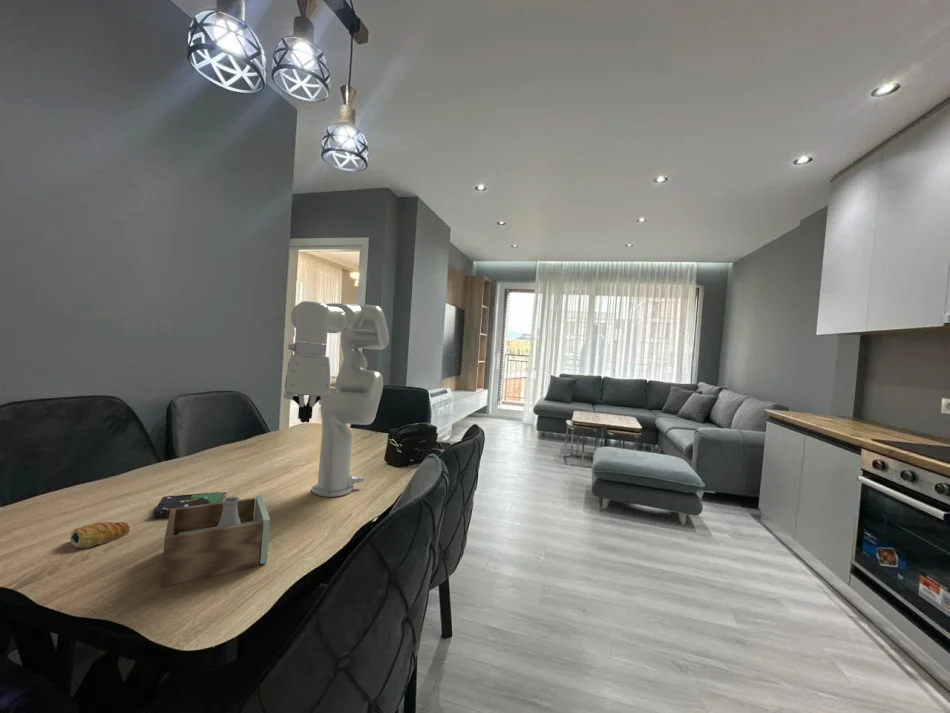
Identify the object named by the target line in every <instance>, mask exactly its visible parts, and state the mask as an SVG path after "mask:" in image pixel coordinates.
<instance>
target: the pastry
mask: <svg viewBox="0 0 950 713" xmlns="http://www.w3.org/2000/svg"><path fill="white" fill-rule="evenodd" d="M129 532H130V526H129V523H128V522H123V521H117V522H113V521H108V522H107V521H105V522H95V523H93V524H85V525H83V526H81V527H77V528H76V527H75V528H74V529H73V532H72V533H70V537H69V540H70V541H71V542H70V543H71V545H72V546H73V547H75V548H76V549H77V548H78V549H89V548H92V547H94V546H97V545H104V544H107V543H110V542H112V541H115V540H118V539H120V538H122V537H124V536H125V535H127V534H129Z"/></svg>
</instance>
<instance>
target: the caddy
mask: <svg viewBox="0 0 950 713" xmlns="http://www.w3.org/2000/svg"><path fill="white" fill-rule="evenodd" d="M255 501H256V497H253V498H252V497H251V498H245V499H239V501H238V502H237V510H238V516H239V519H240V522H241V523H243V522H249V521H254V513H255ZM222 511H223V504H222V502H220V503H212V504H204V505H196V506H188V507H181V508H173V509H170V513H169V518H167V524H166V529H165V535H164V541H163V550H162V551H163V553H162V565H161V579H160V580H161V581H160V588H163V587H167V586H168V587H169V586H172V585H177V584H181V583H186V582H191V581H196V580H200V579H205V578H208V577H214V576H219V575H223V574H228V573H233V572H237V571H238V572H239V571H241V570H246V569H252V568H256V567H259V566H260V561H259V558H260V546H261V533H262V521H259V522H253V523H247V524H241V525H234V526H228V527H222V528H215V529H209V530H203V531H197V532H190V533H184V534H179V532H185V531H192V530H198V529H204V528H211V527H217V526H218V523H219V521H220V518H221V515H222Z"/></svg>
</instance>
